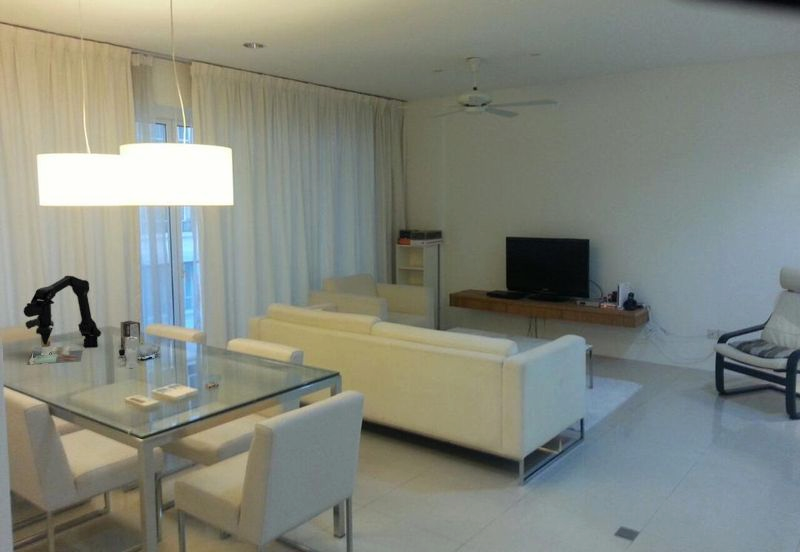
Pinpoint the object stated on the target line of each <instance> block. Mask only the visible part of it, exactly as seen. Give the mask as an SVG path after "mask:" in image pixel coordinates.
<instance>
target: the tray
mask: <svg viewBox="0 0 800 552" xmlns="http://www.w3.org/2000/svg"><path fill="white" fill-rule="evenodd" d="M57 358H58V356H57V354H55V355H38V356H36V357H35V359H34V364H36V365H41V364H40V363H51V364H57V363H56V361H57Z"/></svg>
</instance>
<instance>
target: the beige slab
mask: <svg viewBox="0 0 800 552" xmlns="http://www.w3.org/2000/svg"><path fill="white" fill-rule="evenodd" d="M70 351H71V346H69V345H68V346H56V347H55V346H54V347H52V350H51V352H52V355H55V354H57V356H69V354H70Z"/></svg>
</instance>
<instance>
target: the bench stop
mask: <svg viewBox="0 0 800 552" xmlns="http://www.w3.org/2000/svg"><path fill="white" fill-rule="evenodd" d="M32 353H33V358H35V357H36V356H38V355H41V353H42V347H41V346H36V347H35V346H34V349H33V351H32Z"/></svg>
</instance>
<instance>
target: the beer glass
mask: <svg viewBox="0 0 800 552" xmlns="http://www.w3.org/2000/svg"><path fill="white" fill-rule="evenodd" d="M139 348H140V344H139V337H127V338H125V354H126V358H125V359H126V363H125V365H126V364H127V365H132V364H136V363H138V364H139V360H138V355H139Z"/></svg>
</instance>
